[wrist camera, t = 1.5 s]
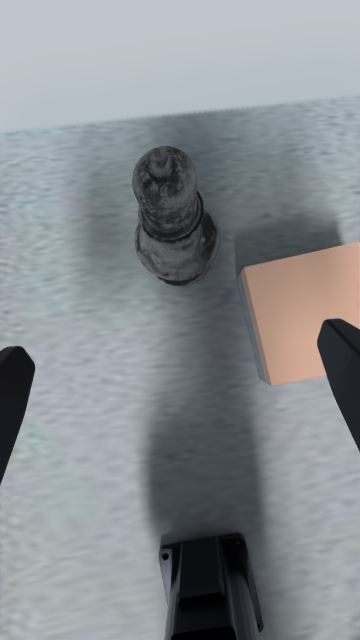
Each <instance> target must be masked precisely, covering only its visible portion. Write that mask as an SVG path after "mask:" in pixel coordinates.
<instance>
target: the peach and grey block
mask: <svg viewBox="0 0 360 640" xmlns="http://www.w3.org/2000/svg"><path fill="white" fill-rule="evenodd" d="M237 283H238V287H239V291H240V296H241V300H242V304H243V309H244V313H245V317H246V322H247V326H248V330H249V335H250V339H251V343H252V348H253V352H254V356H255V361H256V365H257V369H258V374H259V378H260V379H262V380H263V381H265V382H266V383H268V384H269V385H271V386H275V385H280V384H286V383H291V382H296V381H301V380H306V379H311V378H316V377H321V376H326V372H325V369H324V366H323V363H322V360H321V357H320V353H319V350H318V347H317V338H318V335H319V332H320V329H321V326H322V323H323V321H324V320H326V319H334V318H340V319H343V320H345V321H346V322H348V323H350V324H352V325H353V326H355V327H357V328H359V329H360V241H359V242H355V243H350V244H346V245H341V246H337V247H333V248H328V249H324V250H319V251H315V252H310V253H306V254H301V255H297V256H292V257H288V258H283V259H279V260H274V261H270V262H265V263H261V264H256V265H252V266H247V267H244V268H243V270H242V271H241V273H240V274H239V276H238V278H237Z"/></svg>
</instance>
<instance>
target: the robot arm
mask: <svg viewBox="0 0 360 640" xmlns="http://www.w3.org/2000/svg"><path fill="white" fill-rule="evenodd" d="M317 347H318V350H319V353H320V357H321V360H322V363H323V366H324V369H325V372H326V375H327V378H328V381H329V384H330V387H331V390H332V392H333V395H334V397H335V400H336V402H337V404H338V406H339V408H340V410H341V413H342V415H343V417H344V419H345V421H346V423H347V426H348V428H349V430H350V432H351V434H352V436H353V438H354V441H355V443H356V445H357V447H358V449H359V451H360V329H359V328H357V327H355V326H353V325H352V324H350V323H348V322H346V321H345V320H343V319H340V318H334V319H326V320H324V321H323V323H322V326H321V329H320V332H319V335H318V338H317ZM34 373H35V364H34V362H33V360H32V359H31V358H30V356H29V355H28V353H27V352H26V351H25V349H24V348H23V347H21V346H11V347H6V348H4V349H3V350H1V351H0V485H1V482H2V479H3V476H4V473H5V470H6V467H7V464H8V462H9V459H10V456H11V453H12V450H13V447H14V444H15V441H16V439H17V436H18V433H19V430H20V427H21V424H22V421H23V418H24V415H25V411H26V407H27V403H28V399H29V394H30V390H31V386H32V381H33V377H34ZM237 541H241V543H240V544H237V543H236V542H237ZM163 553H167V554H168V555H167V556H165V555H163ZM159 562H160V567H161V572H162V578H163V583H164V588H165V594H166V599H167V604H168V614H167V622H166V631H165V640H260V637H259V633H260V632H261V631H262V630H263V621H262V617H261V612H260V607H259V603H258V598H257V593H256V589H255V584H254V580H253V575H252V570H251V566H250V561H249V556H248V552H247V547H246V542H245V539H244V536H243V535H242V534H240V533H235V534H229V535H223V536H217V537H215V536H213V537H207V538H201V539H195V540H189V541H184V542H181V543H175V544H169V545H164V546H162V547H161V548H160V551H159ZM257 622H258V623H257Z"/></svg>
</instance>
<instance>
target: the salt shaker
mask: <svg viewBox="0 0 360 640" xmlns="http://www.w3.org/2000/svg"><path fill="white" fill-rule="evenodd" d="M132 183H133V190H134V194H135V196H136V198H137V201H138V203H139V211H138V216H139V223H138V226H137V228H136V231H135V246H136V252H137V254H138V256H139V258H140V260H141V262H142V263H143V265H144V266H145V267H146V268H147V269H148V270H149V271H150V272H152V273H153V274H155V275H156V276H157V277H158V278H159V279H160V280H162V281H163V282H165V283H167V284H170V285H173V286H186V285H191V284H193V283H195V282H197V281H199V280H200V279H201V278H202V277H203V276H204V275H205V274H206V272H207V271H208V269H209V268H210V265H211V262H212V261H213V259H214V258H215V256H216V253H217V250H218V247H219V239H220V233H219V228H218V224H217V222H216V220H215V218H214V216H213V214H212V213H211V212H210V211H209V210H208V209H207V208H206V207H205V206H204V205H203V200H202V197H201V196H200V194H199V192H198V191H197V177H196V172H195V168H194V165H193V163H192V161H191V160H190V158H189V157H188V156H187V155H186V154H185V153H184V152H182V151H181V150H179V149H176V148H173V147H169V146H161V147H158V148H154V149H152V150H150V151H148V152H147V153H146V154H145V155H144V156H143V157H141V158H140V160H139V161H138V163H137V164H136V166H135V169H134V172H133V179H132Z"/></svg>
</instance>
